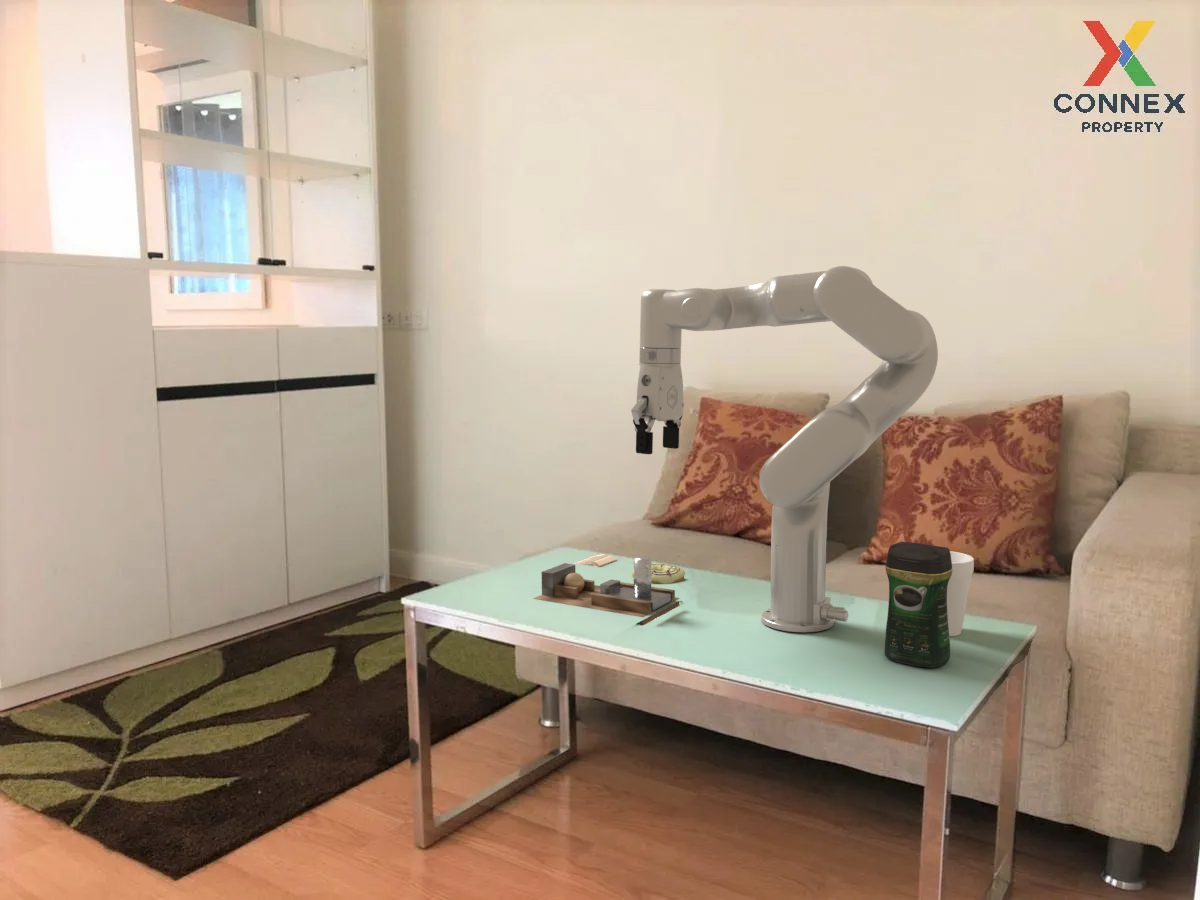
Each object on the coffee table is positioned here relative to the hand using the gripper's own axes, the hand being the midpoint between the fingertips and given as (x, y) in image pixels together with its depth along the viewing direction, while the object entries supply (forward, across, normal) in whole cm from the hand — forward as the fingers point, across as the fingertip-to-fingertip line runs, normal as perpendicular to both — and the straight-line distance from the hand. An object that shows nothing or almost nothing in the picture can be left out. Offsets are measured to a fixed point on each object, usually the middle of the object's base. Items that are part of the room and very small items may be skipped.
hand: (657, 450), depth 181 cm
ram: (+28, -4, +2) cm, 29 cm away
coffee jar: (+28, -4, -50) cm, 58 cm away
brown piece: (+30, -4, +8) cm, 31 cm away
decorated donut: (+30, +14, +7) cm, 34 cm away
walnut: (+29, -5, +15) cm, 33 cm away
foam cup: (+28, +13, -50) cm, 59 cm away
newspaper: (+32, +16, +28) cm, 45 cm away
